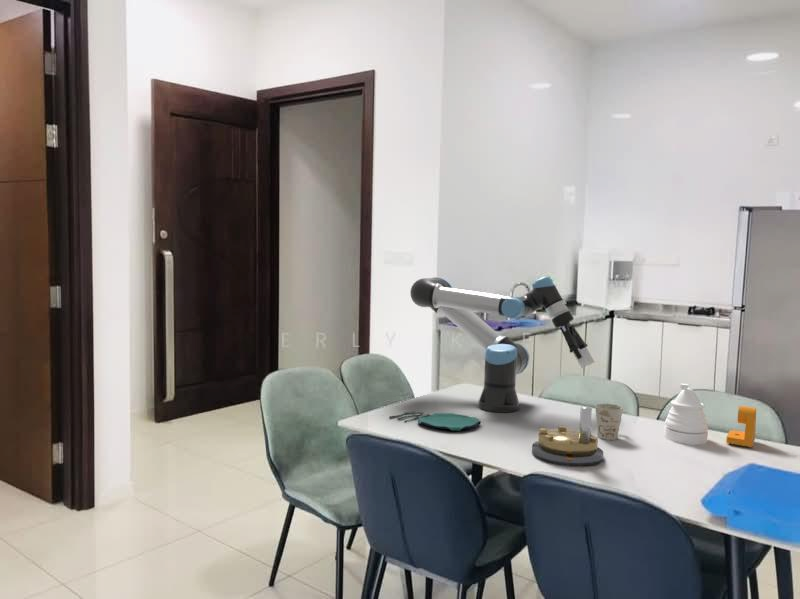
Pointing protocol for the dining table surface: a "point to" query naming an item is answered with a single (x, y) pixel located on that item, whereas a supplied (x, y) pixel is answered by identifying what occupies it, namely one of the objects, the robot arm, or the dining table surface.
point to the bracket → (745, 438)
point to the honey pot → (686, 419)
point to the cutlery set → (442, 420)
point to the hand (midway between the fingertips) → (588, 365)
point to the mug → (608, 420)
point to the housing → (567, 457)
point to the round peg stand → (570, 438)
